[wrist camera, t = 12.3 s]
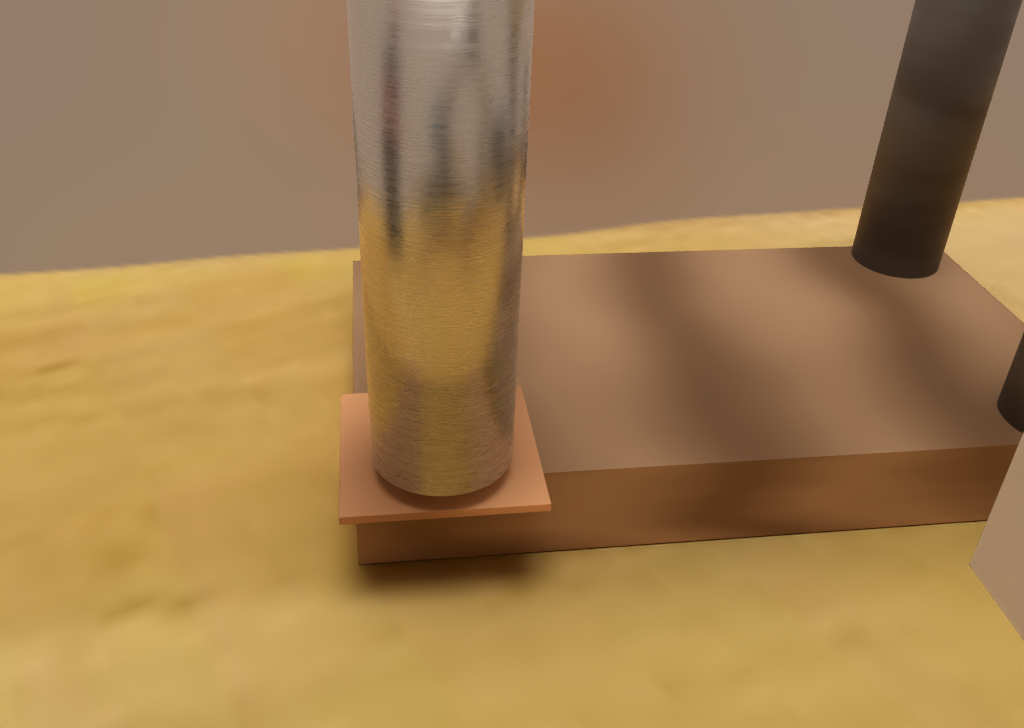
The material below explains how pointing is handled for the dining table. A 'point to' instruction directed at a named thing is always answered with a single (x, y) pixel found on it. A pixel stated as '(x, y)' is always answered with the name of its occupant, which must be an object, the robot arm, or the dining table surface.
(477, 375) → the hinged leg
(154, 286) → the dining table surface
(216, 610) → the dining table surface
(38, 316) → the dining table surface
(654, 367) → the wooden base with rods
